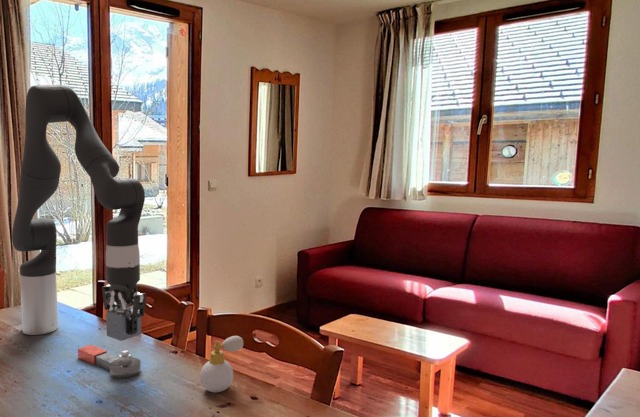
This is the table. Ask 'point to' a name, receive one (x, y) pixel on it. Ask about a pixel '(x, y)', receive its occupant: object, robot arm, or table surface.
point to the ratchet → (111, 361)
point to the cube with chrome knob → (119, 324)
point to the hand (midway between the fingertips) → (124, 330)
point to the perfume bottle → (220, 366)
